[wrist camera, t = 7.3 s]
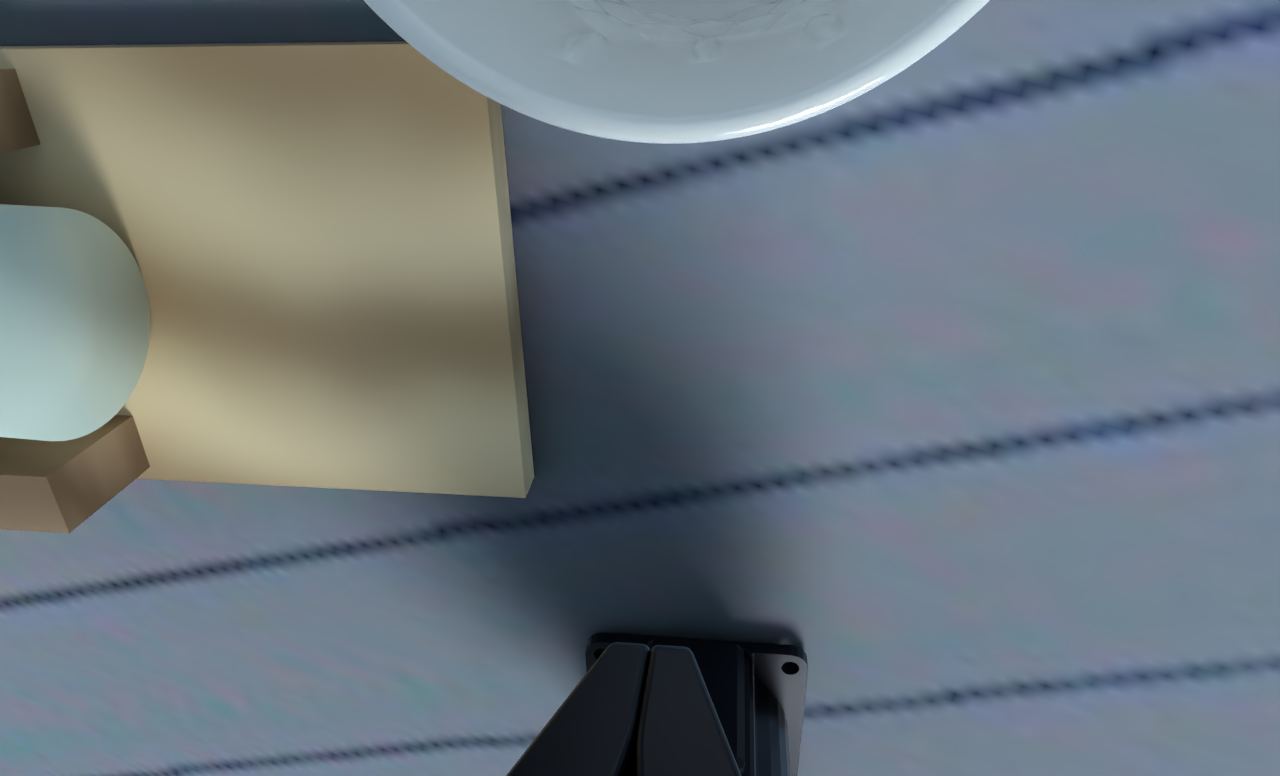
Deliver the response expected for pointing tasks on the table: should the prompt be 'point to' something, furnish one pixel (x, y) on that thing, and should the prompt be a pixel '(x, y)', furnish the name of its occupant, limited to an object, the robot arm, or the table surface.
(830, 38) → the white cup
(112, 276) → the bottle
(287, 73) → the cradle board
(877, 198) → the table surface
